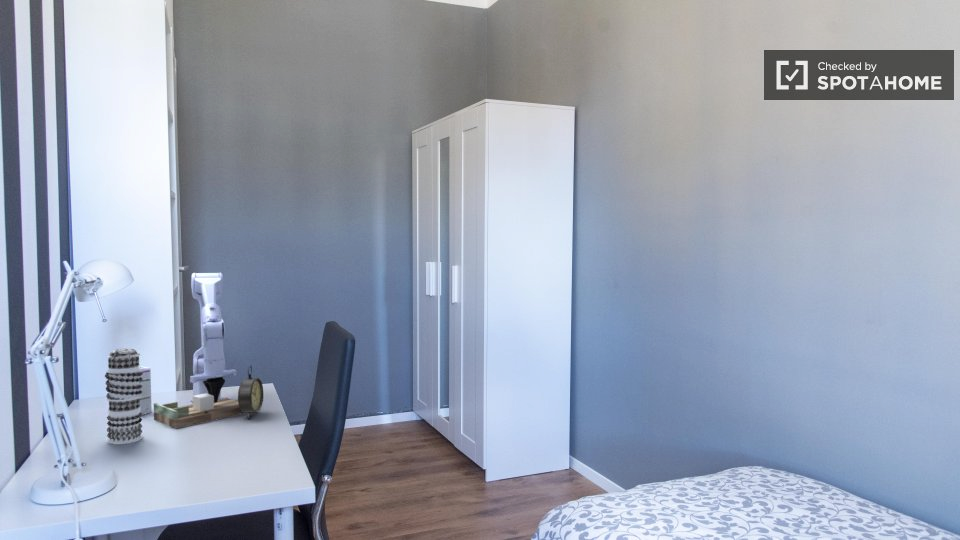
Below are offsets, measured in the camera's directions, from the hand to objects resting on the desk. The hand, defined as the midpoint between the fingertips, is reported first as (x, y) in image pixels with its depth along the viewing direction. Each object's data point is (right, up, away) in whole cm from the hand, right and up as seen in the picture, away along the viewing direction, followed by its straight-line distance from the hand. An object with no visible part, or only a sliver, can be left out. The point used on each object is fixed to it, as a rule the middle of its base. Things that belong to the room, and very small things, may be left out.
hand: (214, 401), depth 209 cm
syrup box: (-24, -4, 0) cm, 24 cm away
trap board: (-2, -4, -3) cm, 5 cm away
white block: (-2, -2, -3) cm, 4 cm away
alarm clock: (+12, -4, -2) cm, 13 cm away
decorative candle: (-14, -5, -27) cm, 31 cm away
